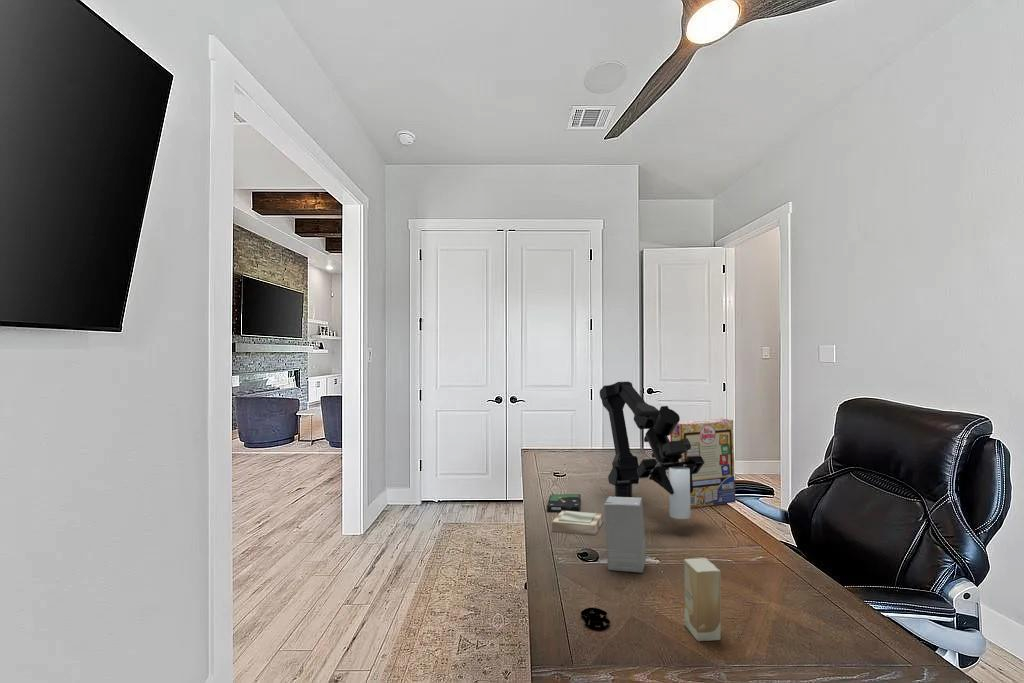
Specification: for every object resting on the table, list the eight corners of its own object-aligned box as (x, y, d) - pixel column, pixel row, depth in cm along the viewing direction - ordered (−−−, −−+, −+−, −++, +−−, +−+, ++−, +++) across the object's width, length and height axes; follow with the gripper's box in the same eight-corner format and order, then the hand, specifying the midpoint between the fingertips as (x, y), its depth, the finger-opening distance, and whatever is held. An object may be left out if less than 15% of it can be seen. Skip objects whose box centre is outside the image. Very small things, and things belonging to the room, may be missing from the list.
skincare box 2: (683, 625, 106) (682, 557, 106) (706, 623, 106) (705, 556, 106) (697, 642, 99) (696, 571, 99) (722, 641, 100) (721, 570, 100)
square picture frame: (562, 519, 172) (562, 509, 172) (602, 522, 168) (602, 512, 168) (552, 531, 161) (552, 520, 161) (594, 535, 157) (594, 524, 157)
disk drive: (580, 515, 178) (580, 502, 193) (580, 506, 178) (580, 493, 193) (546, 514, 180) (549, 501, 194) (546, 505, 180) (549, 493, 194)
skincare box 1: (646, 564, 136) (644, 496, 136) (642, 575, 129) (641, 504, 129) (610, 560, 138) (609, 494, 139) (604, 571, 132) (603, 501, 132)
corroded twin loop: (585, 633, 103) (585, 627, 103) (578, 612, 111) (578, 607, 111) (613, 632, 104) (613, 626, 104) (604, 611, 112) (604, 606, 112)
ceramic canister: (670, 512, 161) (669, 465, 161) (690, 514, 159) (690, 467, 159) (668, 518, 156) (668, 469, 156) (690, 519, 154) (689, 471, 154)
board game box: (723, 498, 193) (722, 418, 194) (736, 503, 187) (734, 420, 188) (670, 504, 187) (669, 421, 187) (682, 509, 181) (680, 423, 181)
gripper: (641, 430, 159) (662, 479, 148) (700, 427, 164) (724, 474, 153) (628, 453, 167) (647, 501, 156) (685, 450, 172) (707, 496, 161)
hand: (682, 493), depth 156 cm, fingers closed on ceramic canister, 5 cm apart
